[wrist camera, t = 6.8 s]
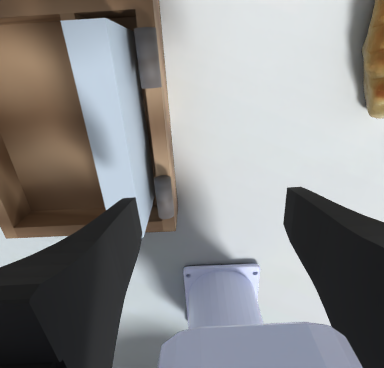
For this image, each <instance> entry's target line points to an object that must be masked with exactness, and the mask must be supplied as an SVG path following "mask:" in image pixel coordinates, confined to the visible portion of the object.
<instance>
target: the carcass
mask: <svg viewBox="0 0 384 368" xmlns="http://www.w3.org/2000/svg"><path fill="white" fill-rule="evenodd" d="M95 18H107V19H109V20H111V21H113V22H115V23H117V24H119V25H121V26H123V27H125V28H127V29H129V30H132V31H134V36H135V43H136V51H137V58H138V66H139V73H140V81H141V88H142V95H143V103H144V110H145V118H146V125H147V133H148V140H149V148H150V155H151V163H152V170H153V178H154V185H155V193H156V194H155V198H154V201H153V205H152V209H151V212H150V216H149V220H148V223H147V227H146V231H145V232H168V231H176V223H177V213H178V203H177V192H176V181H175V170H174V159H173V148H172V137H171V126H170V115H169V104H168V93H167V83H166V72H165V61H164V50H163V39H162V28H161V17H160V6H159V0H0V227H1V229H2V231H3V233H4V235H5V237H6V238H28V237H51V236H70V235H72V234H73V233H75V232H76V231H78V230H80V229H81V228H83V227H84V226H85V225H87V224H88V223H90V222H91V221H93V220H94V219H95V218H97V217H98V216H100V215H101V214H102V213H103V212H105V211H106V208H105V204H104V200H103V196H102V192H101V188H100V183H99V179H98V175H97V171H96V167H95V163H94V158H93V154H92V150H91V146H90V142H89V138H88V134H87V129H86V125H85V121H84V117H83V113H82V109H81V104H80V100H79V96H78V92H77V88H76V84H75V80H74V75H73V71H72V67H71V63H70V59H69V55H68V50H67V46H66V42H65V38H64V34H63V30H62V25H61V21H64V20H80V19H95Z"/></svg>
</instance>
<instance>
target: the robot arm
mask: <svg viewBox="0 0 384 368" xmlns="http://www.w3.org/2000/svg"><path fill="white" fill-rule="evenodd" d="M284 227H285V230H286V232H287V235H288V238H289V240H290V242H291V244H292V246H293V248H294V250H295V252H296V253H297V255H298V257H299V259H300V260H301V262H302V264H303V266H304V268H305V269H306V271H307V273H308V275H309V276H310V278H311V280H312V282H313V284H314V286H315V288H316V290H317V292H318V294H319V297H320V299H321V301H322V304H323V306H324V308H325V311H326V313H327V316H328V318H329V321H330V323H331V326H332V327H331V326H328V325H324V324H316V323H309V322H293V323H271V324H264V323H263V320H262V316H261V312H260V308H259V305H258V301H257V299H258V288H259V276H260V267H259V265H258V264H235V265H209V266H187V267H185V268H184V269H183V275H184V286H185V296H186V307H187V318H188V326H189V329H188V330H183V331H180V332H178V333H177V334H175V335H174V336H173V337H171V338H170V339H169V340H167V341H166V342H165V343H164V344H162V346H161V350H160V355H159V360H158V368H384V222H381V221H378V220H375V219H373V218H370V217H367V216H364V215H362V214H359V213H357V212H355V211H352V210H350V209H348V208H345V207H343V206H341V205H339V204H337V203H334V202H332V201H330V200H328V199H326V198H324V197H322V196H320V195H318V194H316V193H314V192H312V191H309V190H307V189H305V188H302V187H291V188H287V195H286V204H285V214H284ZM141 238H142V228H141V223H140V217H139V212H138V207H137V202H136V197H133V198H123V199H121V200H119V201H118V202H117V203H115V204H114V205H113V206H111V207H110V208H109V209H107V210H106V211H105V212H103V213H102V214H101V215H100V216H98V217H97V218H95V219H94V220H93V221H91V222H90V223H88V224H87V225H85V226H84V227H83V228H81V229H80V230H78V231H76V232H75V233H73V234H72V235H70V236H68V237H66V238H65V239H63V240H61V241H59V242H57V243H56V244H54V245H51V246H49V247H47V248H45V249H43V250H41V251H39V252H37V253H35V254H33V255H30V256H28V257H26V258H23V259H21V260H18V261H16V262H13V263H11V264H8V265H5V266H3V267H0V368H112V364H113V357H114V351H115V345H116V339H117V334H118V328H119V323H120V318H121V313H122V308H123V303H124V299H125V295H126V291H127V288H128V285H129V282H130V279H131V275H132V272H133V269H134V266H135V263H136V260H137V257H138V253H139V250H140V244H141ZM255 271H256V272H255ZM187 274H190V275H187Z"/></svg>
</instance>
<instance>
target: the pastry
mask: <svg viewBox="0 0 384 368" xmlns="http://www.w3.org/2000/svg"><path fill="white" fill-rule="evenodd" d="M362 55H363V58H364V63H363V69H364V79H363V86H364V94H365V101H366V107H367V110H368V113H369V115H370V116H371V117H374V118H384V0H375V4H374V9H373V15H372V18H371V22H370V25H369V29H368V34H367V37H366V39H365V41H364V44H363V47H362Z"/></svg>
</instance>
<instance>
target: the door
mask: <svg viewBox="0 0 384 368" xmlns="http://www.w3.org/2000/svg"><path fill="white" fill-rule="evenodd" d="M61 25H62V30H63V34H64V38H65V42H66V46H67V50H68V55H69V59H70V63H71V67H72V71H73V75H74V80H75V84H76V88H77V92H78V96H79V100H80V104H81V109H82V113H83V117H84V121H85V125H86V129H87V134H88V138H89V142H90V146H91V150H92V154H93V158H94V163H95V167H96V171H97V175H98V179H99V183H100V188H101V192H102V196H103V200H104V204H105V208H106V210H107V209H109V208H110V207H111V206H113V205H114V204H115V203H117V202H118V201H119V200H121V199H123V198H133V197H136V202H137V207H138V212H139V217H140V223H141V228H142V238H144V234H145V231H146V227H147V223H148V220H149V216H150V212H151V209H152V205H153V201H154V198H155V194H156V193H155V185H154V178H153V170H152V163H151V155H150V148H149V140H148V133H147V125H146V118H145V110H144V103H143V95H142V88H141V81H140V73H139V66H138V58H137V51H136V43H135V36H134V31H132V30H129V29H127V28H125V27H123V26H121V25H119V24H117V23H115V22H113V21H111V20H109V19H107V18H95V19H80V20H64V21H61Z"/></svg>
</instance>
